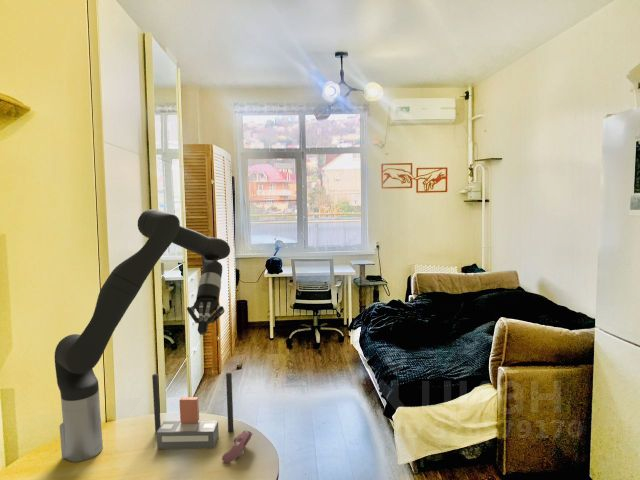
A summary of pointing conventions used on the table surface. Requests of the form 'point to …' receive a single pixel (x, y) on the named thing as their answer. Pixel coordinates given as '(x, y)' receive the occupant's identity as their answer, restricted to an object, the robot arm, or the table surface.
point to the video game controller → (237, 447)
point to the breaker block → (187, 435)
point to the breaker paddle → (189, 410)
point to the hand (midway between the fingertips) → (201, 333)
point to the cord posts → (157, 404)
